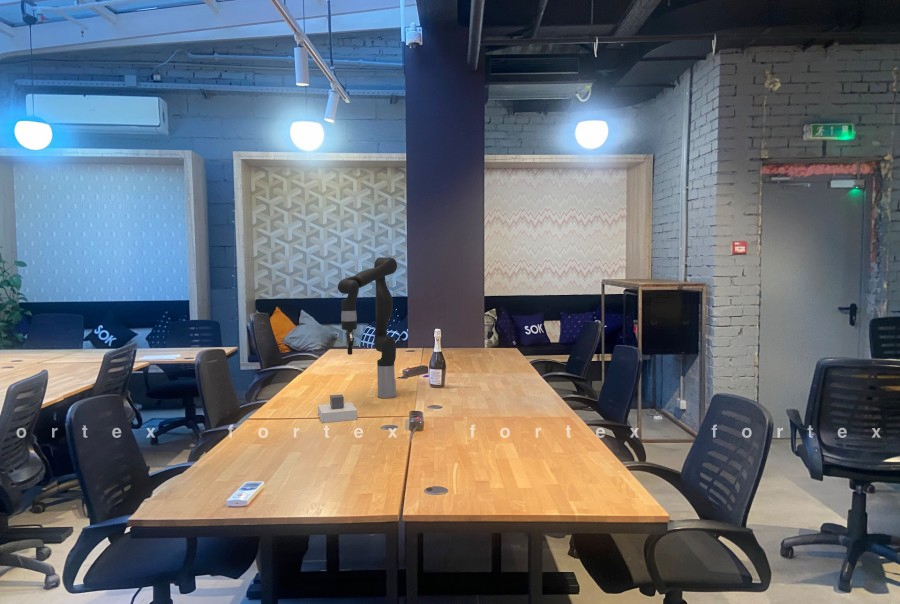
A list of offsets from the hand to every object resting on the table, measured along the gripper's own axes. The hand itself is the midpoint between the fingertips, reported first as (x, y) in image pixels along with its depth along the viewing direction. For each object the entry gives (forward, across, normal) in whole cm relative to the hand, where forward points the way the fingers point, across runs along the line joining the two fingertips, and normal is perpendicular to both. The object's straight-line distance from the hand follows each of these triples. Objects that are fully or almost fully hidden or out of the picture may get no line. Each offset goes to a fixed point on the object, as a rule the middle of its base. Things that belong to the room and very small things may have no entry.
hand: (349, 354), depth 293 cm
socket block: (+27, -15, +9) cm, 32 cm away
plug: (+27, -15, +9) cm, 32 cm away
